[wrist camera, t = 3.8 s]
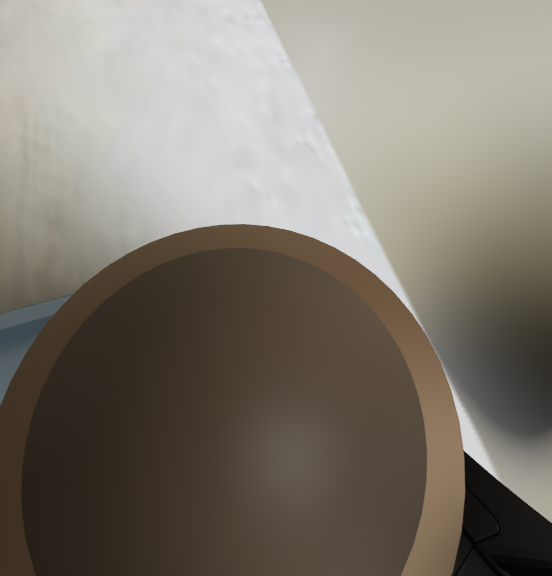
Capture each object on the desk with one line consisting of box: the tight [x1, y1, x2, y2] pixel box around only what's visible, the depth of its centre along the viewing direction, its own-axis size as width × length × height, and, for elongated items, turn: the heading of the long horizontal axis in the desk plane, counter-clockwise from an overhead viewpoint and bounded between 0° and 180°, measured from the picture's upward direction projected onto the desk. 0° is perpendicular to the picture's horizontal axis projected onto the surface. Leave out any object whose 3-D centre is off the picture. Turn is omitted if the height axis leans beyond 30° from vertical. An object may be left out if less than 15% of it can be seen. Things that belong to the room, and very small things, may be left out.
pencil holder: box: [0, 224, 465, 576], centre depth 9 cm, size 6×6×12 cm
